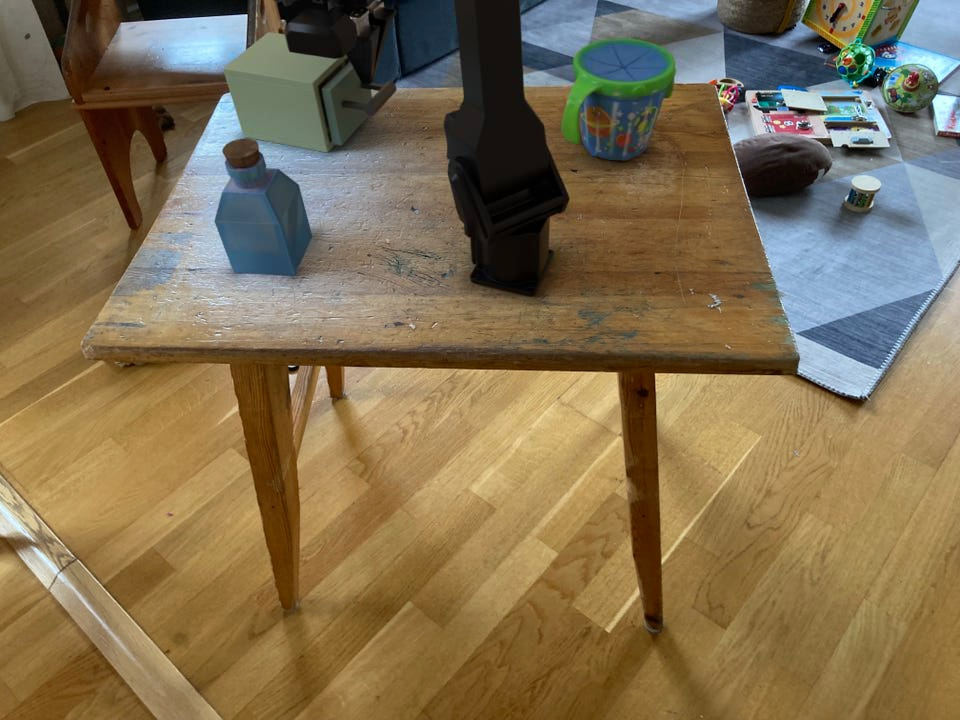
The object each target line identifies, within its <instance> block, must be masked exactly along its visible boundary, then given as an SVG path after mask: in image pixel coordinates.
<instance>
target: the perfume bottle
mask: <svg viewBox="0 0 960 720" xmlns="http://www.w3.org/2000/svg"><path fill="white" fill-rule="evenodd" d="M221 152H222V155H223V156H224V157H225V160H224V166H225V170H226V173H227V175H228V176H229V177H230V179H229V180H228V182H226V185H225V186H224V188H223V190H222V191H221V195H220V198H219V202H218V206H217V210H216V213H215V216H214V217H215V218H214V224H215V227H216V229H217V232H218V235H219V238H220V240H221V244H222V246H223V249H224V251H225V253H226V257H227V259H228V261H229V264H230V266H231V269H232V272H233V273H234V274H252V275H267V276H270V275H271V276H287V277H295V276H296V274H297V272H298V270H299V267H300V265H301V263H302V260H303V258H304V256H305V254H306V252H307V250H308V247H309V244H310V242H311V241H312V238H313V234H312V233H313V232H312V230H311V229H312V228H311V225H310V221H309V218H308V217H309V216H308V215H307V214H308V213H307V211H306V207H305V203H304V199H303V195H302V190H301V187H300V184H299V183H297V182H296V181H295V180H294V179H293V178H291V177H289V175H288V174H286V173H285V172H283V171H282V170H281V169H280V168H274V167H273V168H272V167H267V164H266V161H265V157H264V154H263V153H262V152H261V151H260V145H259V143H258V141H257V140H256V139H253V138H248V137H243V138H238V139H235V140H231V141H229V142H228V143H226V144H225V145H224V146H223V148H222V150H221Z"/></svg>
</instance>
